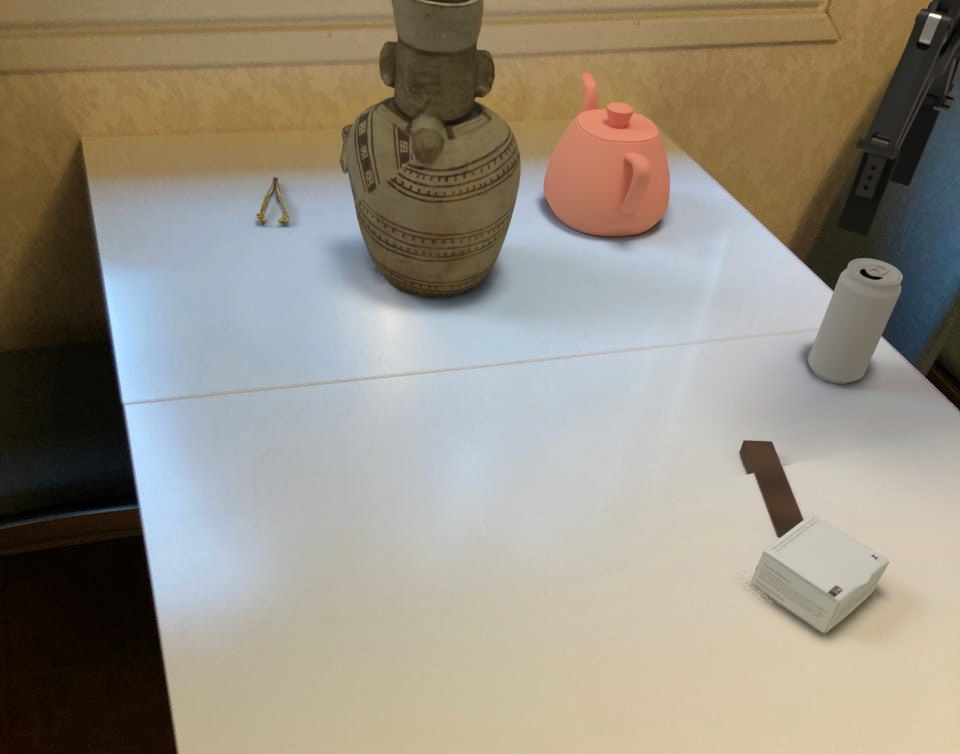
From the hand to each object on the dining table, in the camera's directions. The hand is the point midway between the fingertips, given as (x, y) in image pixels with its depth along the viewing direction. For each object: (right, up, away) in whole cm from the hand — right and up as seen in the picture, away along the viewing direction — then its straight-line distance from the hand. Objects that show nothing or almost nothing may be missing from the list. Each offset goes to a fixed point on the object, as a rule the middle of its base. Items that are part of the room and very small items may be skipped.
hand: (874, 205), depth 86 cm
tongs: (-64, +17, +36) cm, 75 cm away
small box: (-8, -37, -5) cm, 38 cm away
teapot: (-20, +19, +42) cm, 50 cm away
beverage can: (+3, -10, +19) cm, 22 cm away
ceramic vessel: (-43, +4, +27) cm, 51 cm away
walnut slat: (-9, -27, +3) cm, 28 cm away
